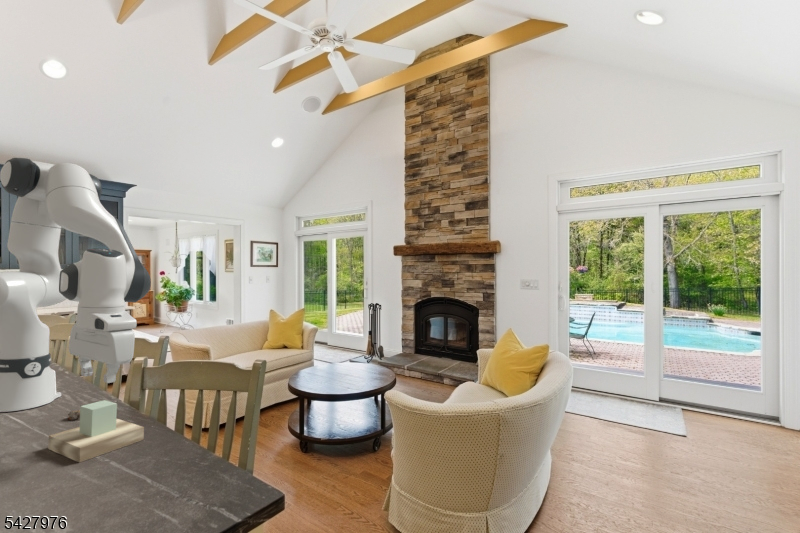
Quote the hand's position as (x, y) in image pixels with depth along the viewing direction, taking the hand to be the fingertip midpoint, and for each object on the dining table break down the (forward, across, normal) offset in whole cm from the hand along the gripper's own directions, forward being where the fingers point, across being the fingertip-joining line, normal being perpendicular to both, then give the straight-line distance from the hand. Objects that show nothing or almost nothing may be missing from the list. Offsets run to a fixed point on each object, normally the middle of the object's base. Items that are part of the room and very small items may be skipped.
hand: (97, 378), depth 91 cm
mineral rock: (+16, -21, +10) cm, 28 cm away
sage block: (+12, 0, 0) cm, 12 cm away
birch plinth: (+15, +1, 0) cm, 15 cm away
